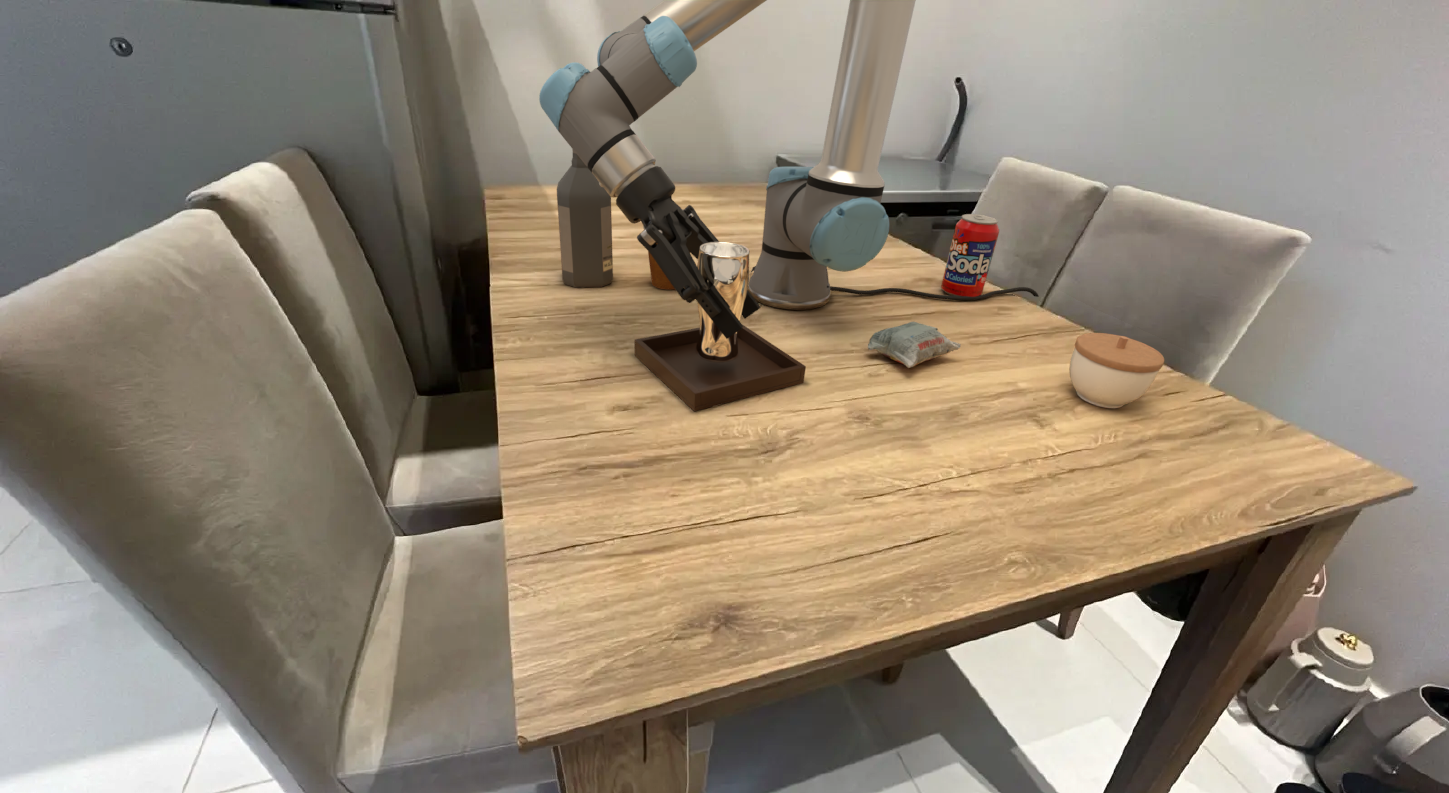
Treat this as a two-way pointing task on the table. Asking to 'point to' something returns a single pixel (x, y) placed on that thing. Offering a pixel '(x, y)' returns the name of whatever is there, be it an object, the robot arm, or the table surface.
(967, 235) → the soda can
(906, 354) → the packaged food
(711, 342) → the beer glass
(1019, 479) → the table surface
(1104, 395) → the trinket box
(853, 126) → the robot arm
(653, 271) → the disposable coffee cup
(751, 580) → the table surface
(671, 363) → the serving tray
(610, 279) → the liquor
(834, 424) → the table surface
